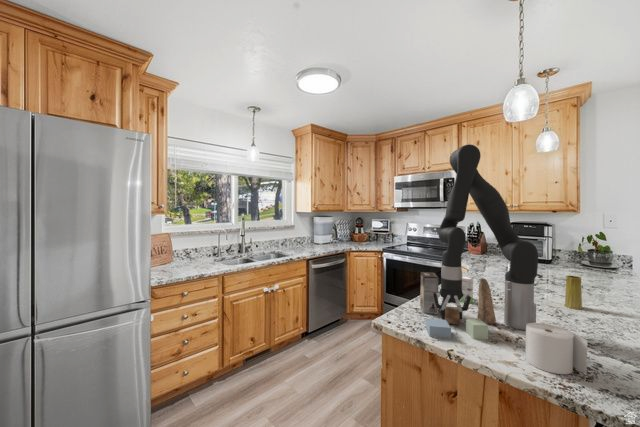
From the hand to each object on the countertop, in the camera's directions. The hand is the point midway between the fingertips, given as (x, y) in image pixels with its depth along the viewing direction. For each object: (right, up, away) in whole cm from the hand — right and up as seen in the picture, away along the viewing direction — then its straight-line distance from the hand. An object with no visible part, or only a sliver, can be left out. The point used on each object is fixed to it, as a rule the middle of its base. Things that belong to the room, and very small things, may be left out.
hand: (451, 319), depth 109 cm
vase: (+66, -2, +19) cm, 69 cm away
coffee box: (-3, -1, +14) cm, 14 cm away
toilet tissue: (+15, -2, -29) cm, 33 cm away
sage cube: (+4, -1, -11) cm, 12 cm away
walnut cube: (0, -1, 0) cm, 1 cm away
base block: (-9, -2, -10) cm, 13 cm away
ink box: (+18, -1, +27) cm, 33 cm away
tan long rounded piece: (+15, -2, +1) cm, 15 cm away
